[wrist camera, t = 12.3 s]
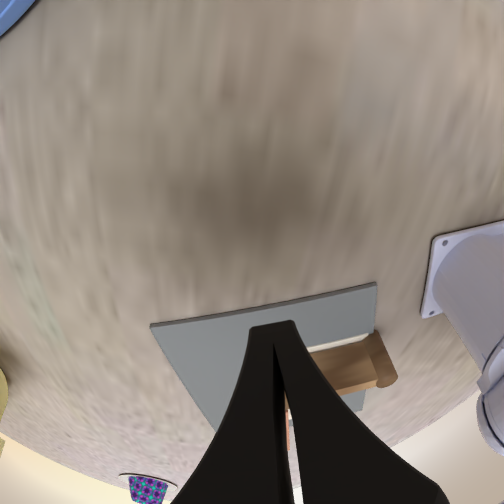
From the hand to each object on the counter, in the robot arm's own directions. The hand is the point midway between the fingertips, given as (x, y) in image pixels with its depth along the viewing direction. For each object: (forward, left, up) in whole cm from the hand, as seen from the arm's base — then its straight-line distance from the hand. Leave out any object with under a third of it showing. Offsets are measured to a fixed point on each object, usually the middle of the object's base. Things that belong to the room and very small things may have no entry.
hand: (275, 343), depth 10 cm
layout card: (+1, +17, -10) cm, 19 cm away
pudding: (+31, +50, -10) cm, 60 cm away
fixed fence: (-3, +13, -10) cm, 17 cm away
